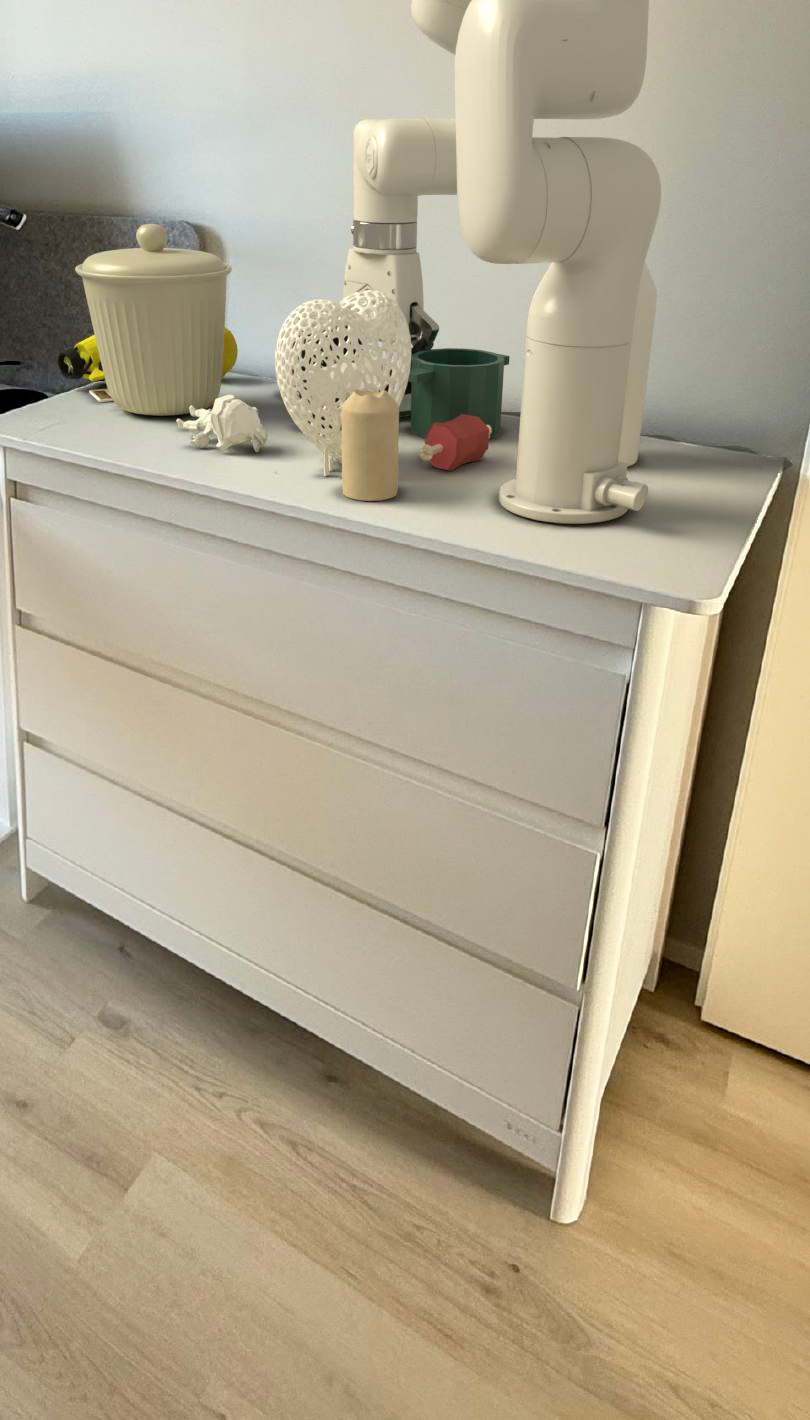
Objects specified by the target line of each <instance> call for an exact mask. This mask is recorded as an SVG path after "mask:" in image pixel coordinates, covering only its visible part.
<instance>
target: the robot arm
mask: <svg viewBox="0 0 810 1420" xmlns="http://www.w3.org/2000/svg"><path fill="white" fill-rule="evenodd" d="M649 5H650V0H411V4H410V11H411V17H412V21H413V22H414V24H415V25H416V27H417V29H419V31H420V32H422V33H423V35H424V36H425V37H427V38H428V39H429V40H430V41H432V42H433V43H434V44H436V45H437V46H439V47H440V48H441V49H443V50H446V52H448V53H451V54H452V55H454V56H455V57H454V111H455V114H454V117H455V118H453V117H452V118H451V117H391V118H366V119H362V120H360V121H358V123H356V125H355V127H354V129H353V136H352V165H353V166H352V194H353V195H352V198H353V199H352V206H353V207H352V220H353V221H352V225H351V226H350V227H351V228H350V233H351V235H352V236H353V237H352V242H353V243H352V247H350V248H349V249H348V252H347V257H346V262H345V267H344V268H345V270H344V278H343V292H342V300H343V299H344V298H346V297H347V296H349V295H351V294H354V293H356V292H360V291H366V290H371V291H379V292H382V293H384V294H386V295H388V296H389V297H391V298H392V299H393V300H394V301H395V302H396V303H397V304H398V306H399V307H400V309H401V310H402V312H403V314H404V316H405V318H406V321H407V324H408V327H409V332H410V338H411V366H410V369H412V355H413V354H415V353H417V352H419V351H424V350H430V349H433V347H434V344H435V343H434V342H435V340H436V339H437V336H438V334H439V332H440V326H439V324H438V323H437V322H436V321H435V320H434V319H432V317H431V316H430V315H429V314H428V313H427V312H426V311H425V309H424V308H425V307H424V283H423V272H422V264H421V256H420V252H418V249H417V248H418V211H419V210H418V207H419V206H418V204H419V197H421V196H457V211H458V212H457V213H458V220H459V225H460V230H461V234H462V237H463V240H464V242H465V244H466V246H467V248H468V250H470V252H471V253H472V254H473V255H474V256H475V257H477V258H478V259H480V260H481V261H484V262H485V263H490V264H495V265H496V264H498V265H522V264H523V265H524V264H525V265H526V264H546V263H547V264H549V263H550V265H549V266H548V268H547V270H546V272H545V273H544V275H543V276H542V279H541V280H540V282H539V284H538V285H537V287H536V290H535V292H534V295H533V297H532V299H531V302H530V306H529V308H528V314H527V322H526V334H525V341H524V342H525V345H524V358H523V373H522V388H521V400H520V401H521V403H520V415H519V417H520V418H519V430H518V431H519V432H518V444H517V445H518V446H517V461H516V473H515V474H516V475H515V478H513V479H510V480H508V481H506V482H504V483H503V484H502V485H501V486H500V487H499V491H498V502H499V503H500V505H501V506H502V507H503V508H504V509H505V510H507V511H508V512H510V513H513V514H514V515H517V516H520V517H523V518H526V519H530V520H533V521H534V520H535V521H540V522H543V523H544V522H545V523H552V524H562V525H563V524H564V525H585V524H596V523H603V522H608V521H611V520H615V519H617V518H620V517H623V516H624V515H625V514H626V513H627V512H628V511H629V510H631V511H635V512H638V511H640V510H642V508H643V507H644V505H645V502H646V499H647V495H648V493H649V486H648V484H645V483H641V482H638V481H631V480H629V478H628V477H627V473H628V467H629V466H628V464H627V463H623V462H619V461H618V456H619V447H620V439H621V430H622V421H623V412H624V403H625V394H626V385H627V377H628V368H629V359H630V350H631V341H632V337H633V328H634V320H635V312H636V305H637V298H638V292H639V286H640V281H641V276H642V272H643V267H644V263H646V259H647V255H648V252H649V249H650V245H651V242H652V240H653V235H654V233H655V229H656V225H657V222H658V218H659V213H660V207H661V202H662V185H661V178H660V174H659V170H658V169H657V166H656V164H655V162H654V161H653V159H652V158H651V156H650V155H649V154H648V153H647V152H646V151H644V150H643V149H642V148H641V147H640V146H638V145H636V144H633V143H632V142H629V141H626V140H622V139H618V138H613V137H612V138H611V137H602V136H601V137H599V136H596V137H595V136H559V137H547V136H546V137H544V136H543V137H541V136H540V137H539V136H538V137H537V136H536V137H535V136H533V132H534V120H598V119H599V120H600V119H607V118H612V117H615V116H618V115H620V114H622V113H624V112H626V111H628V109H630V107H632V106H633V105H634V103H635V102H636V100H637V99H638V97H639V95H640V93H641V91H642V87H643V83H644V80H645V73H646V66H647V56H648V55H647V53H648V39H649V38H648V36H649V35H648V34H649V11H650V6H649ZM370 297H371V296H370ZM379 301H381V300H379ZM365 302H366V300H364V301H361V302H360V304H363V303H365ZM371 305H372V306H373V305H375V302H372V303H371ZM353 307H354V306H353ZM353 307H352V308H353ZM377 310H378V311H379V312H383V308H382V307H379V308H378V309H377ZM355 312H360V311H359V310H357V311H355ZM386 314H387V315H389V314H388V313H386ZM364 315H365V316H367V314H366V313H365V314H364ZM369 315H370V317H374V314H373V313H372V312H371V311H370V312H369ZM349 316H350V315H349ZM338 318H339V317H337V319H338ZM377 318H378V319H379V320H380V316H378V317H377ZM354 319H355V318H354ZM382 319H383V317H382ZM388 319H389V318H388ZM383 324H386V323H385V322H383ZM364 325H365V324H364ZM373 325H377V324H376V323H375V322H373ZM348 326H349V325H348ZM396 326H397V324H396ZM381 328H382V326H381ZM390 328H391V327H390V326H389V329H390ZM356 329H357V328H356ZM360 329H361V330H363V329H362V328H360ZM384 330H385V329H384ZM370 335H372V333H370ZM393 335H394V336H395V333H394V334H393ZM383 336H384V335H383ZM373 337H374V336H373ZM384 337H385V336H384ZM390 341H391V339H390ZM378 342H381V343H383V341H382V338H379V341H378ZM358 343H359V344H360V345H363V344H362V342H361V341H360V339H359V338H358ZM393 344H395V341H393ZM361 350H363V349H361ZM355 353H356V350H355V349H353V354H354V355H355ZM358 357H359V355H358ZM352 362H353V363H355V362H354V360H353V361H352ZM411 383H412V382H409V381H408V383H407V386H406V390H405V393H404V395H407V394H411Z"/></svg>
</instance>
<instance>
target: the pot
mask: <svg viewBox="0 0 810 1420" xmlns="http://www.w3.org/2000/svg"><path fill="white" fill-rule="evenodd" d="M510 357H511V356H510V355H507V354H500V353H497V352H493V351H487V350H483V349H475V348H463V347H462V348H457V347H452V348H451V347H446V348H445V347H444V348H432V349H430V350H424V351H419V352H417V353H415V354H413V355H412V369H410V373H409V378H408V381H409V382H412V383H411V415H410V431H411V433H413V435H415V436H417V437H420V438H423V439H425V437H426V435H427V433H428V432H429V430H430V428H431V427H432V425H433V423H443V422H447V421H451V420H454V419H455V418H457V417H458V416H460V415H461V414H465V415H470V416H475V417H479V418H480V419H481V420H482V421H483V422H484V424H485V425H490V427H491V429H492V433H491V434H489V435H490V438H489V440H490V439H493V438H496V437H497V436H498V435H499V434H500V430H501V423H502V406H503V390H504V389H503V388H504V375H505V369H504V368H505V366H508V365H510Z"/></svg>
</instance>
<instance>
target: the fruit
mask: <svg viewBox="0 0 810 1420" xmlns="http://www.w3.org/2000/svg"><path fill="white" fill-rule="evenodd" d="M238 351H239V350H238V344H237V341H236V338H235V336H234V334H233V333H232V331H231V330H230V329H229V328H227V327H226V326H224V348H223V363H222V377H221V380H222V379H223V378H225V375H227V374H228V373H229V372H230V371H231V370H232V369H233V367H235V364H236V362H237V360H238V353H239V352H238Z"/></svg>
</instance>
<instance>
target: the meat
mask: <svg viewBox="0 0 810 1420" xmlns="http://www.w3.org/2000/svg"><path fill="white" fill-rule="evenodd" d="M491 433H492V429H491V427H490V425H485V424H484V422H483V421H482V420H481V419H480V418H479V417H475V416H470V415H465V414H461V415H460V416H458V417H457V418H455V419H454V420H451V421H447V422H443V423H433V425H432V427H431V428H430V430H429V432H428V433H427V435H426V437H425V438H424V444H423V445H422V447H420V449H421V451H420V452H419V457H420V459H421V461H423V462H424V461H425V462H429V463H430V464H431V465H432V466H433V467H434V468H437V469H441V470H445V471H450V472H453V471H455V469H457V468H458V467H460V466H461V465H464V464H466V463H469V462H480V460H481V459H482V458H483V456H484V455H485V454H486V452H487V450H488V449H489V442H490V441H489V440H490V439H491V438H490V435H489V434H491ZM489 438H490V439H489Z"/></svg>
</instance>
